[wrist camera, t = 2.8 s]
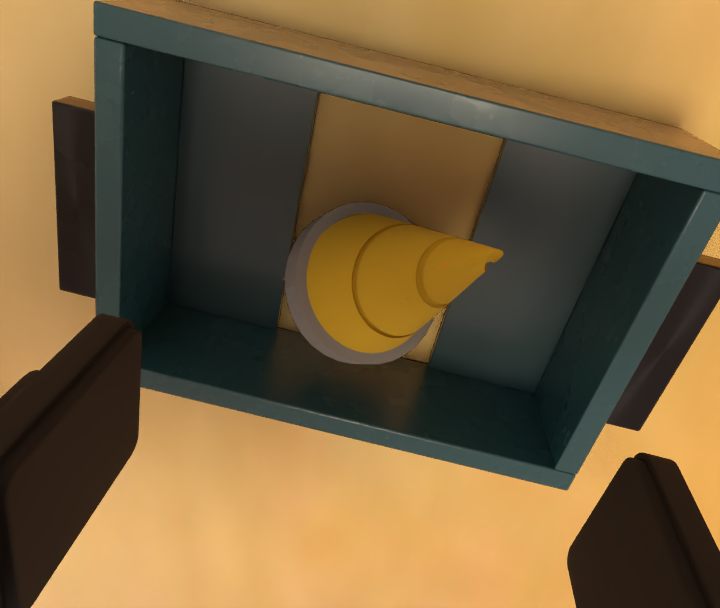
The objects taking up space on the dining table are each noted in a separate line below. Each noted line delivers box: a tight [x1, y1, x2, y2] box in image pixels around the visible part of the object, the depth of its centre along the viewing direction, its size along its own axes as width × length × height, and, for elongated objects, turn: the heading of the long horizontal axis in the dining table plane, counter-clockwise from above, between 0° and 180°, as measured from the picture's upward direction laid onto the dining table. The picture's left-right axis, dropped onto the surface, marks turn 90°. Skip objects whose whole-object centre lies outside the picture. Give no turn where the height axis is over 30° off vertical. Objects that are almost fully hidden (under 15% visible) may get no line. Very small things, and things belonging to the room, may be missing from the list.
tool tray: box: [52, 0, 720, 490], centre depth 19 cm, size 19×12×4 cm, turn 78°
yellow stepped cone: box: [282, 202, 503, 364], centre depth 18 cm, size 5×5×10 cm
